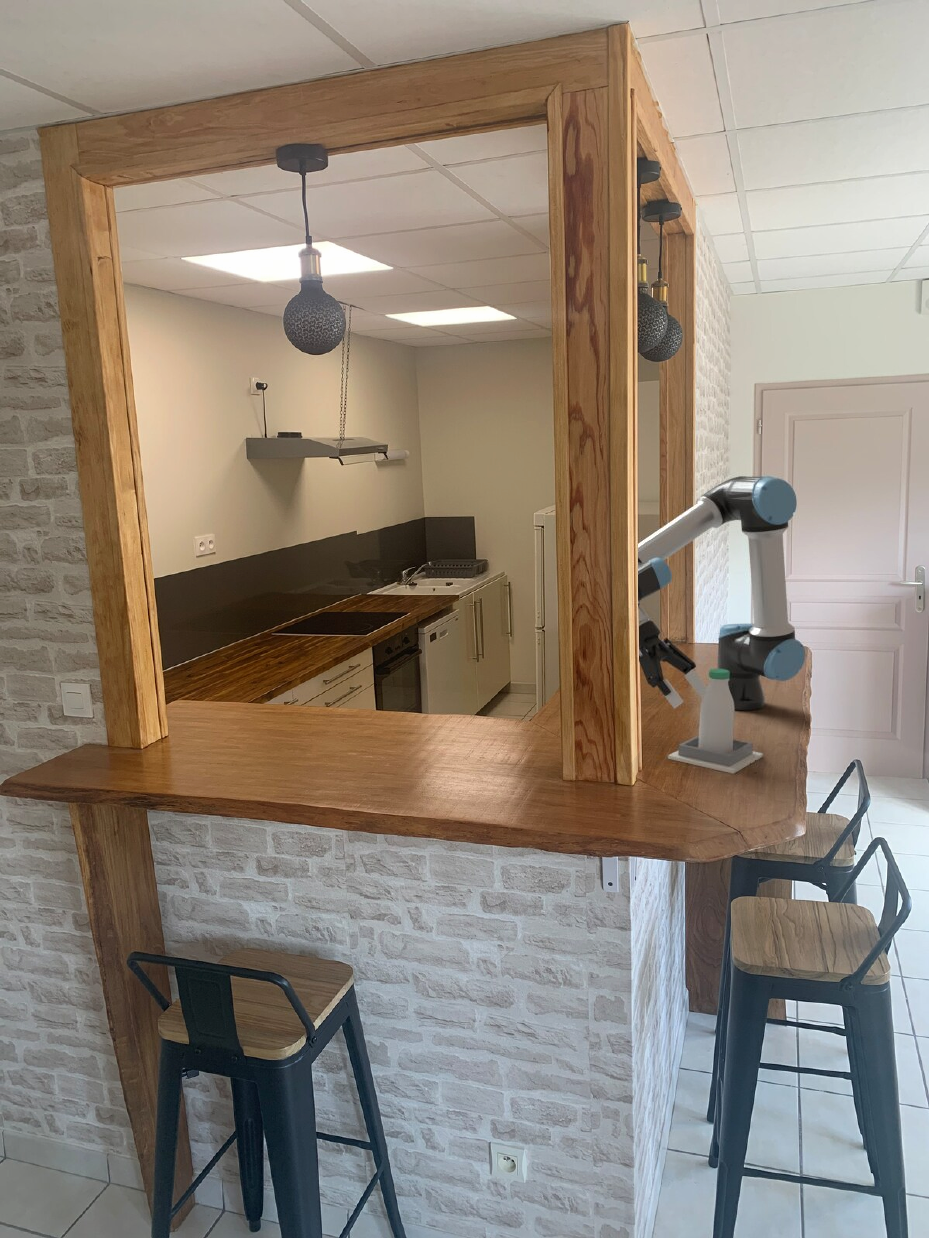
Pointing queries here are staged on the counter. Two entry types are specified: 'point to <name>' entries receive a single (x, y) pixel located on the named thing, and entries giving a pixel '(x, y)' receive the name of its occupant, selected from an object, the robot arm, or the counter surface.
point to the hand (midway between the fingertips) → (692, 699)
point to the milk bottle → (717, 714)
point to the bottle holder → (716, 756)
